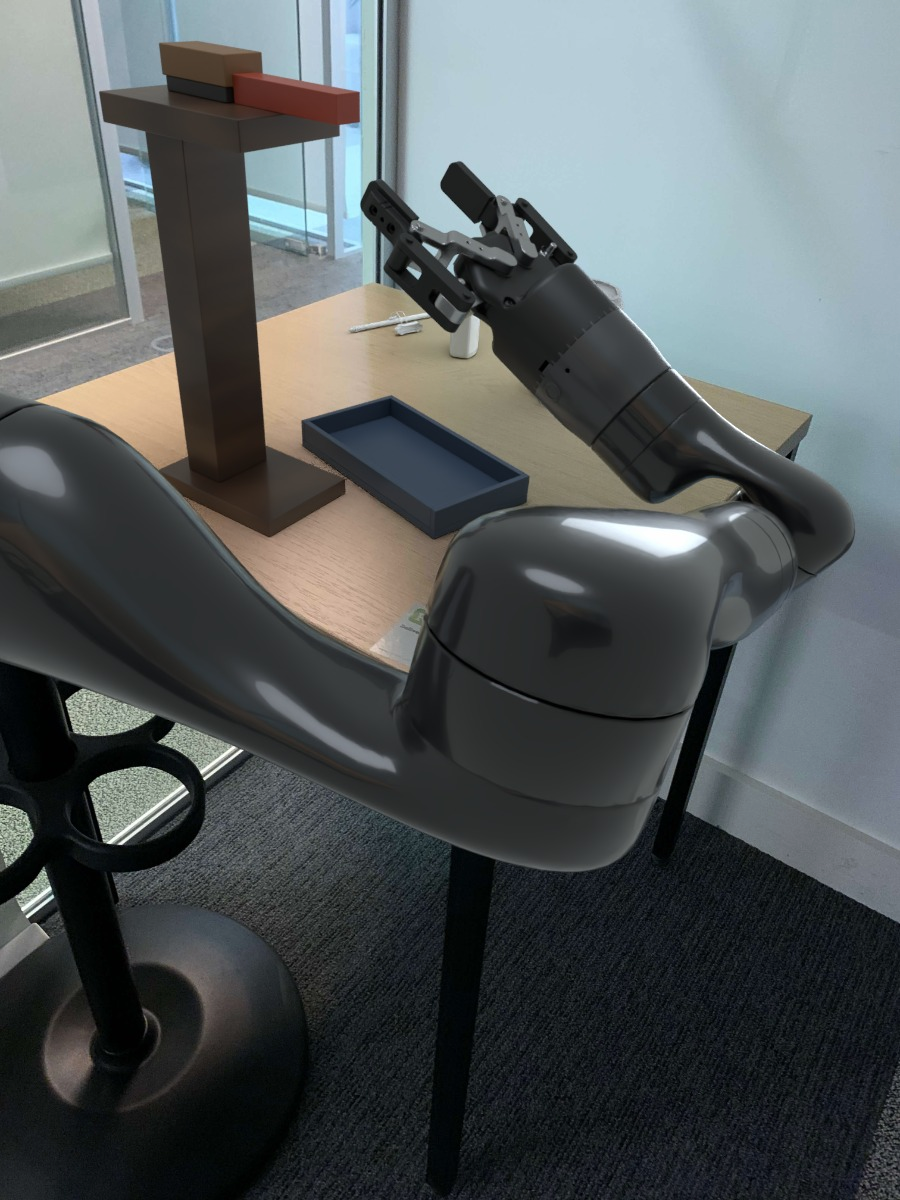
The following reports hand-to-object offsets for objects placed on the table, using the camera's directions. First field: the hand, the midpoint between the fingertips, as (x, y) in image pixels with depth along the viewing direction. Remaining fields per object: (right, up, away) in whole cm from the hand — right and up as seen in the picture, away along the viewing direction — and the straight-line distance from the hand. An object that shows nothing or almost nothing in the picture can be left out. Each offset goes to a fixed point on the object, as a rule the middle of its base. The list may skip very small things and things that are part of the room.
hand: (409, 181), depth 59 cm
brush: (-11, +8, +5) cm, 14 cm away
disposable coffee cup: (+16, -3, +47) cm, 50 cm away
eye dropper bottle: (+4, +4, +55) cm, 56 cm away
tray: (-1, -15, +29) cm, 33 cm away
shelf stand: (-16, -17, +25) cm, 34 cm away
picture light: (-4, +8, +61) cm, 61 cm away
